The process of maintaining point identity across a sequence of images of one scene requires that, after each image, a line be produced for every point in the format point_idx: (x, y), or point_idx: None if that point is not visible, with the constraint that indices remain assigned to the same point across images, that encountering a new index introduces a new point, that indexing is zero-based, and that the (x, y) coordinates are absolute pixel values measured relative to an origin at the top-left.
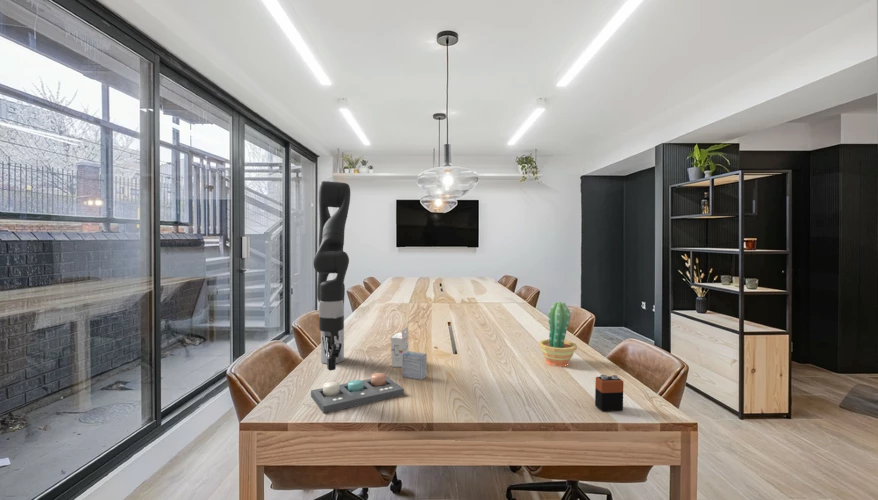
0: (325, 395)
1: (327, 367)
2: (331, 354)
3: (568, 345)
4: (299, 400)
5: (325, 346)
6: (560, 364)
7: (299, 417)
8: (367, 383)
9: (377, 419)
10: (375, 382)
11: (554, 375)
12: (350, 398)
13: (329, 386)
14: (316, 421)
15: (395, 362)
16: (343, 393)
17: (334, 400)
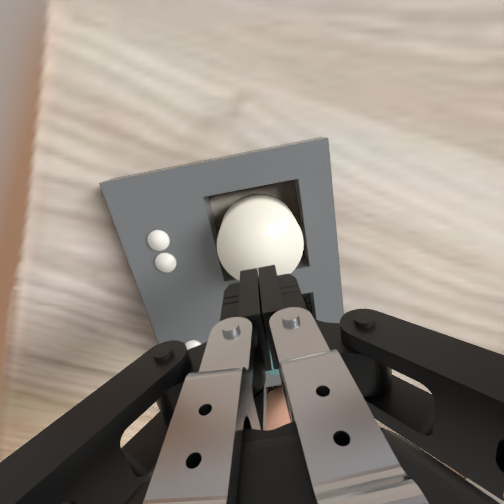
0: (233, 204)
1: (271, 268)
2: (103, 389)
3: None
4: (295, 74)
5: (298, 394)
6: None
7: (89, 66)
8: None
9: (29, 345)
10: (269, 408)
11: None
12: (162, 299)
13: (235, 235)
14: (36, 142)
15: (485, 491)
16: (227, 281)
17: (147, 236)
